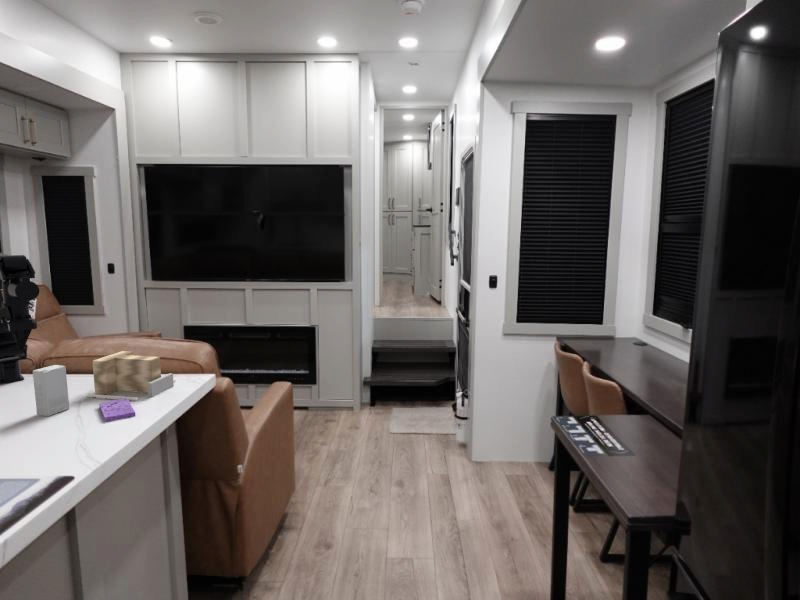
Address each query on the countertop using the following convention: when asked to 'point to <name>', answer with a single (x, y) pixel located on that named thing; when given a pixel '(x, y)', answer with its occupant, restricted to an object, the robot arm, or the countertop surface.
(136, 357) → the t block
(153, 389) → the tray
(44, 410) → the skincare box
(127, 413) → the sponges
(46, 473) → the countertop surface
